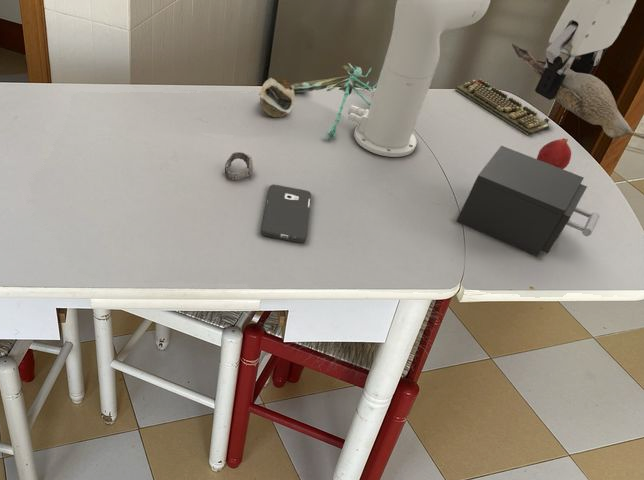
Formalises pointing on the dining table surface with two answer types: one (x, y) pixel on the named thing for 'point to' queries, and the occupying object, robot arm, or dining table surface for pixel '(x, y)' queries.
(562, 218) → the drawer
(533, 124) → the keyboard
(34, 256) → the dining table surface
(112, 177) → the dining table surface
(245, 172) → the wristwatch
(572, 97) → the bird model
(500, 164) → the dark grey box
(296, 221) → the cell phone
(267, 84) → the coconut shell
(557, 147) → the onion
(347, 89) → the insect sculpture
